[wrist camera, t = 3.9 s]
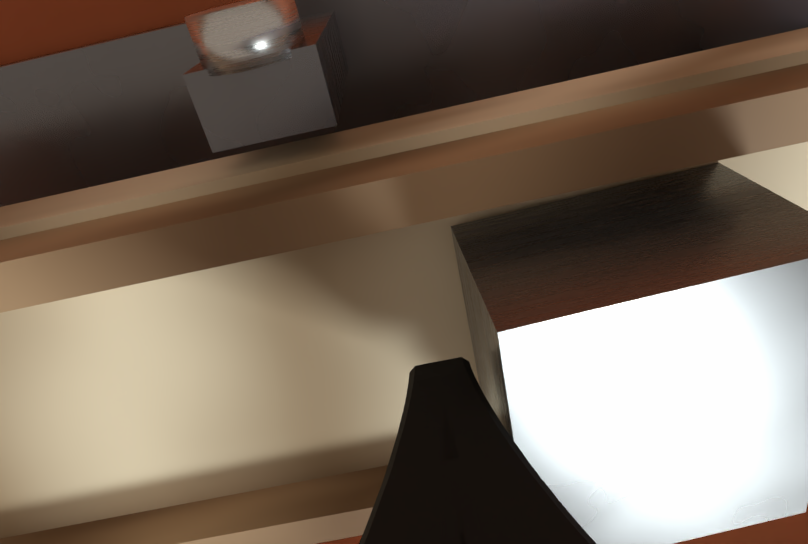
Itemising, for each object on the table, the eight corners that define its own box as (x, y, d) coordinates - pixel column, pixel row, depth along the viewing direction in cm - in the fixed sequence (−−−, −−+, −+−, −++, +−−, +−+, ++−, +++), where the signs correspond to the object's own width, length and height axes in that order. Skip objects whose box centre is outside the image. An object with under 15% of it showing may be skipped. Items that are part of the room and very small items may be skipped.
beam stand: (912, -167, 11) (1274, -239, 7) (813, 332, 18) (967, 470, 13) (-270, 114, 13) (-617, 209, 8) (25, 479, 19) (-83, 647, 15)
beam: (1000, -16, 9) (1162, -5, 7) (891, 359, 13) (978, 428, 11) (-334, 281, 11) (-486, 355, 9) (-69, 542, 15) (-134, 631, 13)
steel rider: (718, 162, 9) (868, 244, 7) (700, 389, 12) (805, 512, 9) (450, 226, 9) (497, 332, 7) (489, 439, 12) (534, 576, 9)
